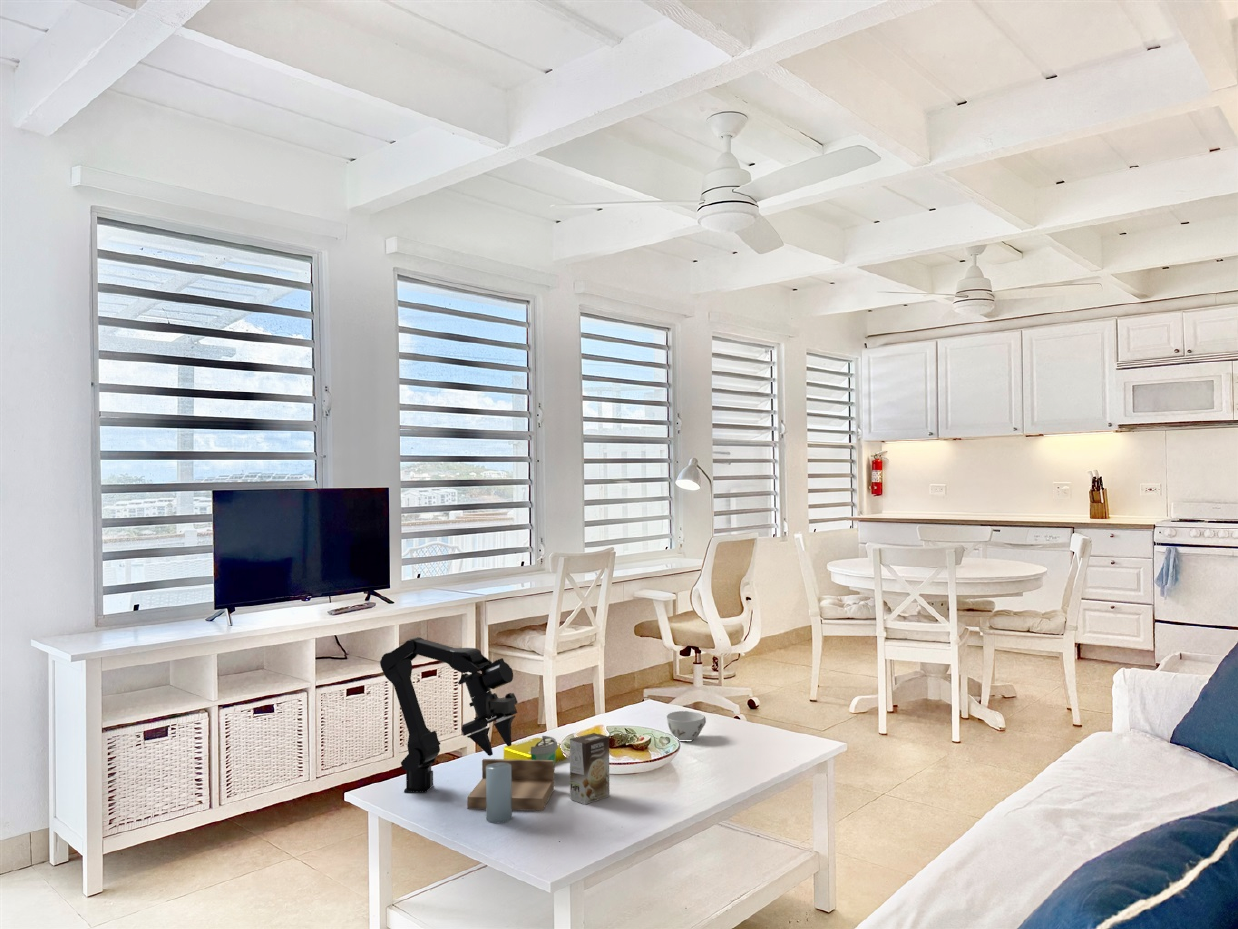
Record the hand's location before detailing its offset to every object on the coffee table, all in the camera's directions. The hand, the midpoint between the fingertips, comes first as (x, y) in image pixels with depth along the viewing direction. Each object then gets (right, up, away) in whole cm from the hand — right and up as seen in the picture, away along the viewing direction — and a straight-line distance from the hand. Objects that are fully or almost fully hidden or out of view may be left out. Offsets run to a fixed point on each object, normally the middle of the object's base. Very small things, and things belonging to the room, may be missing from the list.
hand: (500, 750), depth 228 cm
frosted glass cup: (+1, -13, -12) cm, 18 cm away
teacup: (+55, -15, +55) cm, 80 cm away
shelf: (+3, -14, +2) cm, 14 cm away
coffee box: (+24, -13, +2) cm, 28 cm away
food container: (+11, -14, +20) cm, 27 cm away
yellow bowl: (+6, -16, +37) cm, 40 cm away
